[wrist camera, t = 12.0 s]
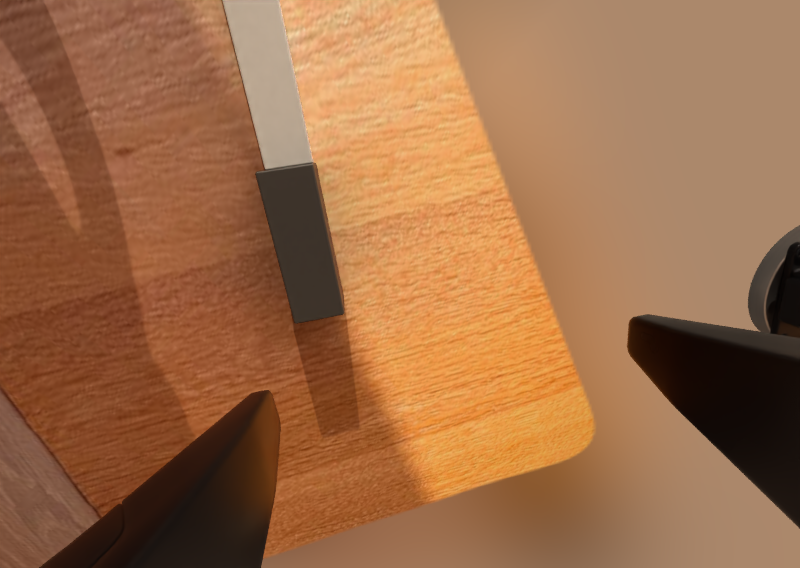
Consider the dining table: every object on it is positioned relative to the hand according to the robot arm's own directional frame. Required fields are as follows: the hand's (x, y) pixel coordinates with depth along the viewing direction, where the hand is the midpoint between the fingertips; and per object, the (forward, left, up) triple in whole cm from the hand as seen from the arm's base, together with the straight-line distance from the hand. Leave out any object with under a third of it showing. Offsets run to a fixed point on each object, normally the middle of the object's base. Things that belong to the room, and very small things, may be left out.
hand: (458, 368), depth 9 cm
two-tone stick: (+4, -7, -12) cm, 14 cm away
